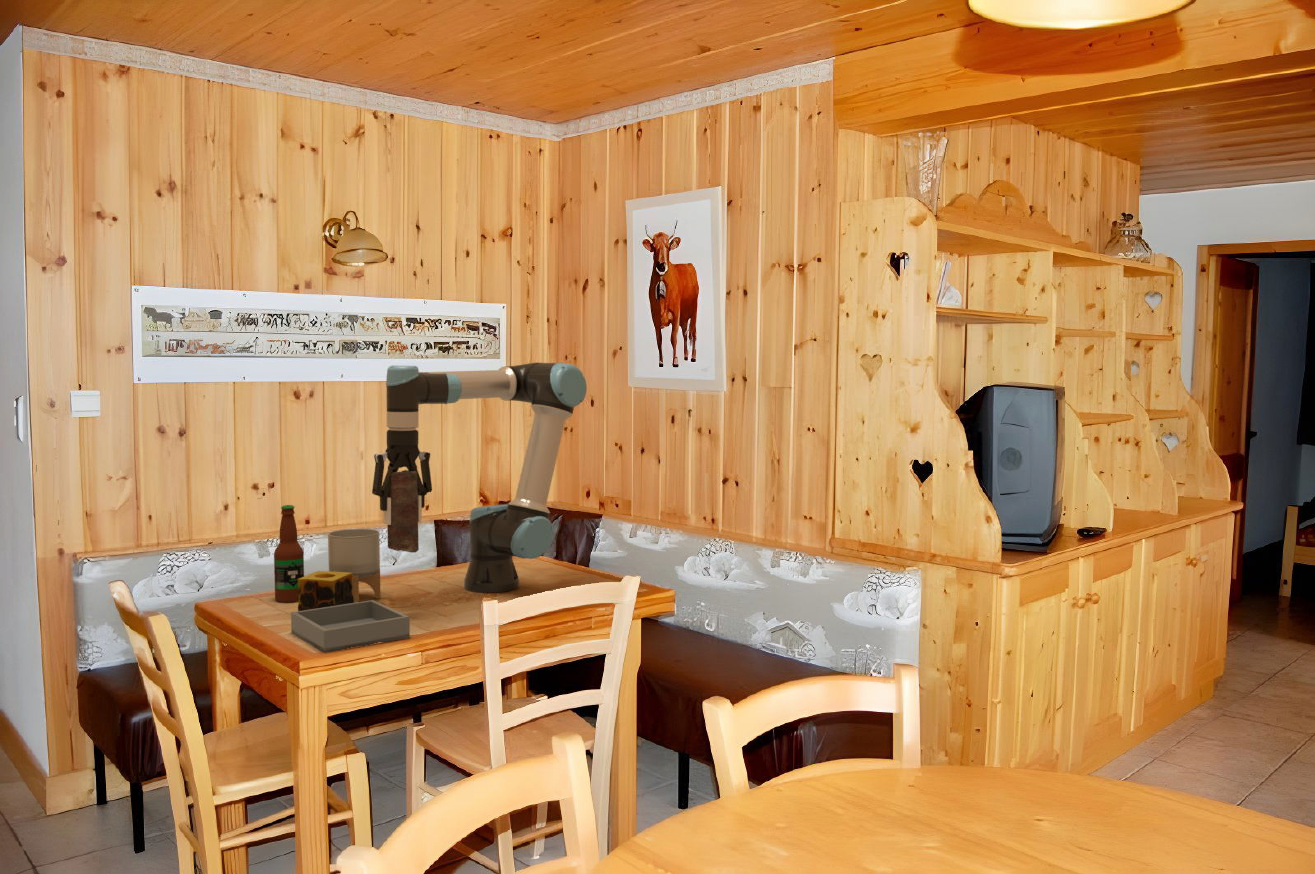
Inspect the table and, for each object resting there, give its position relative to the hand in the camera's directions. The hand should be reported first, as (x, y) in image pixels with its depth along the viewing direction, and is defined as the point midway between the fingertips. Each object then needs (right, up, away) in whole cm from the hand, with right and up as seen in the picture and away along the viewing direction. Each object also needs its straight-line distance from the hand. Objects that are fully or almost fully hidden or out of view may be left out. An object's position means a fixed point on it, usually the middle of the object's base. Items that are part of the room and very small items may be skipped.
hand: (402, 522), depth 256 cm
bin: (-9, -25, -15) cm, 30 cm away
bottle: (-34, -22, +19) cm, 45 cm away
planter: (-18, -22, +20) cm, 35 cm away
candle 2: (0, -7, +1) cm, 7 cm away
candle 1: (-20, -24, +4) cm, 31 cm away
